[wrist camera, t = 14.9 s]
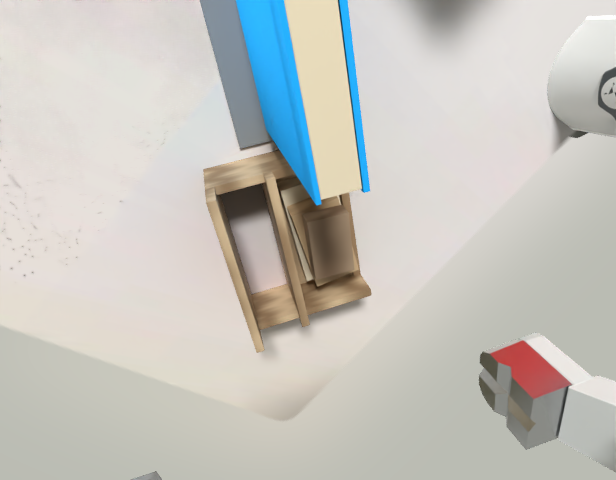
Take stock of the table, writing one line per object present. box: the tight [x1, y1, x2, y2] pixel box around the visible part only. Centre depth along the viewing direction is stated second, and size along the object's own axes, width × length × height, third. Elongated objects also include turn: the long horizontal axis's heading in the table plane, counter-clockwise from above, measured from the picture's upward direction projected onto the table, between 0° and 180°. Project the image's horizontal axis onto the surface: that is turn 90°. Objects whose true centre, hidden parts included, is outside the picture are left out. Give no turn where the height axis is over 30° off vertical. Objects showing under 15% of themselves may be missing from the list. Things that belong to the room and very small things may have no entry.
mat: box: [200, 0, 273, 149], centre depth 46 cm, size 10×20×1 cm, turn 11°
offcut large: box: [276, 176, 341, 281], centre depth 55 cm, size 7×14×3 cm, turn 14°
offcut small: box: [302, 205, 354, 280], centre depth 50 cm, size 5×8×2 cm, turn 8°
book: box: [236, 0, 370, 206], centre depth 35 cm, size 17×4×25 cm, turn 11°
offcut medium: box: [287, 196, 359, 287], centre depth 53 cm, size 6×11×3 cm, turn 18°
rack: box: [203, 150, 371, 353], centre depth 52 cm, size 17×21×11 cm
